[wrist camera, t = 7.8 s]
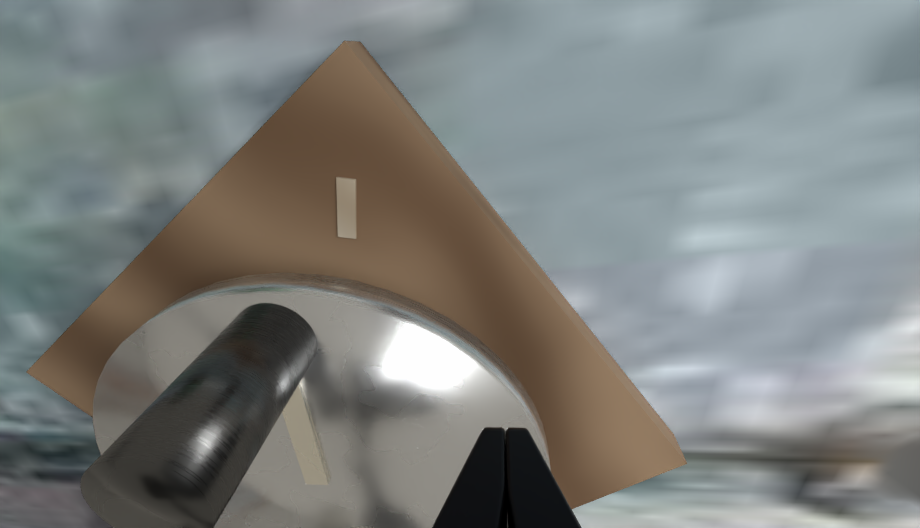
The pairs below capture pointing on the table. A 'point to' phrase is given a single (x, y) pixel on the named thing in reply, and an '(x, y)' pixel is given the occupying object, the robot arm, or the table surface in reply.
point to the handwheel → (294, 409)
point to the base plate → (383, 265)
